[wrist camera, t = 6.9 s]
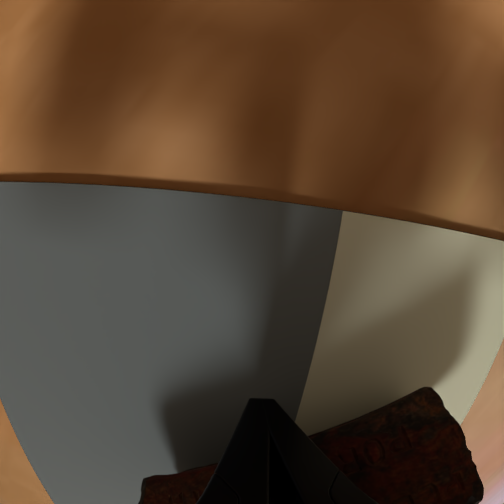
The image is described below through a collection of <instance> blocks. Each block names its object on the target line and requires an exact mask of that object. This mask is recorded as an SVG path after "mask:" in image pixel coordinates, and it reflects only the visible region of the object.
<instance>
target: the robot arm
mask: <svg viewBox="0 0 504 504" xmlns="http://www.w3.org/2000/svg"><path fill="white" fill-rule="evenodd" d="M196 504H379V503H377V502H376V501H375V500H373V499H372V498H371V497H369V496H368V495H367V494H366V493H364V492H363V491H362V490H361V489H359V488H358V487H357V486H356V485H355V484H354V483H353V482H352V481H351V480H350V479H349V478H348V477H347V476H346V475H345V474H344V473H343V472H342V471H339V468H338V467H337V466H336V465H335V464H334V463H333V462H332V461H331V460H330V459H329V458H328V457H327V456H326V455H325V454H324V453H323V452H322V451H321V450H320V449H319V448H318V447H317V446H316V445H315V443H314V442H313V441H312V440H311V439H310V438H309V437H308V436H307V435H306V434H305V433H304V432H303V431H302V429H301V428H300V427H299V426H298V425H297V424H296V423H295V422H294V421H293V420H292V418H291V417H290V416H289V415H288V414H287V413H286V412H285V411H284V409H283V408H282V407H281V406H280V405H279V404H278V403H277V402H276V400H275V399H272V398H249V400H248V402H247V404H246V406H245V409H244V411H243V413H242V415H241V417H240V419H239V422H238V424H237V426H236V428H235V430H234V432H233V434H232V437H231V439H230V441H229V443H228V445H227V447H226V449H225V451H224V453H223V455H222V457H221V459H220V461H219V463H218V465H217V468H216V470H215V472H214V474H213V475H212V477H211V479H210V481H209V483H208V485H207V487H206V488H205V490H204V492H203V494H202V495H201V497H200V498H199V500H198V501H197V503H196Z"/></svg>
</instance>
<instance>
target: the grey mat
mask: <svg viewBox="0 0 504 504" xmlns="http://www.w3.org/2000/svg"><path fill="white" fill-rule="evenodd" d="M503 338H504V241H502V240H498V239H493V238H489V237H484V236H480V235H475V234H471V233H466V232H461V231H456V230H451V229H446V228H441V227H436V226H431V225H426V224H420V223H415V222H410V221H404V220H398V219H393V218H387V217H381V216H375V215H369V214H363V213H357V212H350V211H344V210H337V209H331V208H324V207H317V206H310V205H303V204H295V203H288V202H280V201H272V200H264V199H256V198H247V197H239V196H229V195H220V194H210V193H200V192H190V191H179V190H167V189H155V188H142V187H128V186H113V185H96V184H76V183H50V182H1V181H0V398H1V401H2V404H3V406H4V409H5V411H6V413H7V416H8V418H9V420H10V423H11V425H12V427H13V429H14V432H15V434H16V436H17V438H18V440H19V442H20V444H21V446H22V448H23V450H24V452H25V454H26V456H27V458H28V460H29V462H30V464H31V465H32V467H33V469H34V471H35V473H36V474H37V476H38V478H39V480H40V481H41V483H42V485H43V486H44V488H45V490H46V491H47V493H48V494H49V496H50V497H51V499H52V501H53V502H54V504H138V503H139V501H140V497H141V485H142V480H143V478H146V477H150V476H153V475H169V474H176V473H180V472H182V471H185V470H187V469H191V468H195V467H201V466H206V465H209V464H214V463H219V461H220V459H221V457H222V455H223V453H224V451H225V449H226V447H227V445H228V443H229V441H230V439H231V437H232V434H233V432H234V430H235V428H236V426H237V424H238V422H239V419H240V417H241V415H242V413H243V411H244V409H245V406H246V404H247V402H248V400H249V398H272V399H275V400H276V402H277V403H278V404H279V405H280V406H281V407H282V408H283V409H284V411H285V412H286V413H287V414H288V415H289V416H290V417H291V418H292V420H293V421H294V422H295V423H296V424H297V425H298V426H299V427H300V428H301V429H302V431H303V432H304V433H305V434H306V435H307V436H309V435H312V434H315V433H318V432H321V431H324V430H326V429H329V428H332V427H334V426H337V425H339V424H342V423H345V422H347V421H350V420H352V419H355V418H357V417H360V416H362V415H364V414H367V413H369V412H371V411H373V410H376V409H378V408H380V407H383V406H385V405H387V404H389V403H391V402H393V401H395V400H398V399H400V398H402V397H404V396H406V395H408V394H410V393H412V392H414V391H416V390H418V389H420V388H422V387H432V388H433V389H434V390H435V391H436V392H437V393H438V394H439V395H440V397H441V399H442V401H443V403H444V407H445V408H446V409H447V410H448V411H449V413H450V415H451V416H453V417H454V418H455V420H456V421H457V422H458V423H459V425H461V423H462V422H463V420H464V418H465V417H466V415H467V413H468V411H469V409H470V408H471V406H472V404H473V402H474V400H475V398H476V397H477V395H478V393H479V391H480V389H481V387H482V385H483V383H484V381H485V379H486V377H487V375H488V373H489V370H490V368H491V366H492V364H493V362H494V359H495V357H496V355H497V353H498V350H499V348H500V345H501V343H502V341H503Z"/></svg>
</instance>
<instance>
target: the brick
mask: <svg viewBox="0 0 504 504" xmlns="http://www.w3.org/2000/svg"><path fill="white" fill-rule="evenodd" d="M308 437H309V438H310V439H311V440H312V441H313V442H314V443H315V445H316V446H317V447H318V448H319V449H320V450H321V451H322V452H323V453H324V454H325V455H326V456H327V457H328V458H329V459H330V460H331V461H332V462H333V463H334V464H335V465H336V466H337V467H338V468H339V471H342V472H343V473H344V474H345V475H346V476H347V477H348V478H349V479H350V480H351V481H352V482H353V483H354V484H355V485H356V486H357V487H358V488H359V489H361V490H362V491H363V492H364V493H366V494H367V495H368V496H369V497H371V498H372V499H373V500H375V501H376V502H377V503H379V504H478V503H479V502H481V501H482V499H483V494H484V488H483V484H482V481H481V479H480V477H479V475H478V472H477V469H476V465H475V464H474V462H473V461H472V456H471V451H470V450H469V449H468V448H467V446H466V440H465V436H464V433H463V431H462V429H461V427H460V425H459V423H458V422H457V421H456V420H455V418H454V417H453V416H451V415H450V413H449V411H448V410H447V409H446V408H445V407H444V403H443V401H442V399H441V397H440V395H439V394H438V393H437V392H436V391H435V390H434V389H433V388H432V387H422V388H420V389H418V390H416V391H414V392H412V393H410V394H408V395H406V396H404V397H402V398H400V399H398V400H395V401H393V402H391V403H389V404H387V405H385V406H383V407H380V408H378V409H376V410H373V411H371V412H369V413H367V414H364V415H362V416H360V417H357V418H355V419H352V420H350V421H347V422H345V423H342V424H339V425H337V426H334V427H332V428H329V429H326V430H324V431H321V432H318V433H315V434H312V435H309V436H308ZM217 465H218V463H214V464H209V465H206V466H201V467H195V468H191V469H187V470H185V471H182V472H180V473H176V474H169V475H153V476H150V477H146V478H143V480H142V485H141V497H140V501H139V503H138V504H196V503H197V501H198V500H199V498H200V497H201V495H202V494H203V492H204V490H205V488H206V487H207V485H208V483H209V481H210V479H211V477H212V475H213V474H214V472H215V470H216V468H217Z"/></svg>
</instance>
